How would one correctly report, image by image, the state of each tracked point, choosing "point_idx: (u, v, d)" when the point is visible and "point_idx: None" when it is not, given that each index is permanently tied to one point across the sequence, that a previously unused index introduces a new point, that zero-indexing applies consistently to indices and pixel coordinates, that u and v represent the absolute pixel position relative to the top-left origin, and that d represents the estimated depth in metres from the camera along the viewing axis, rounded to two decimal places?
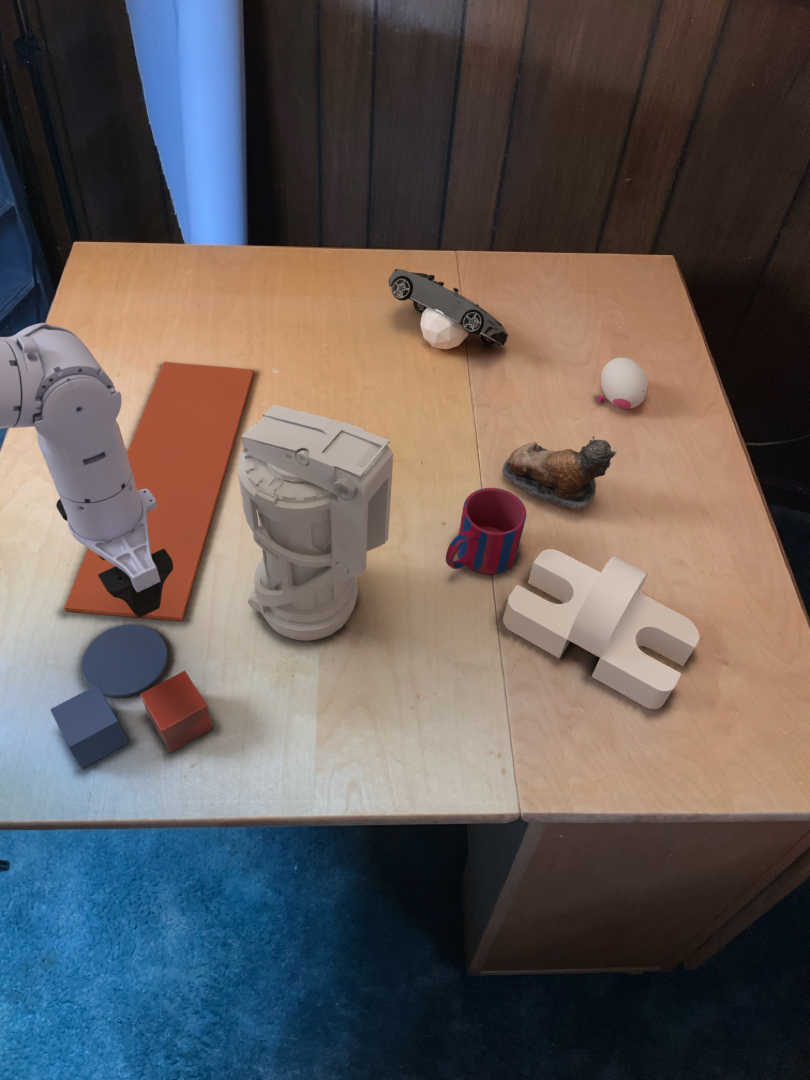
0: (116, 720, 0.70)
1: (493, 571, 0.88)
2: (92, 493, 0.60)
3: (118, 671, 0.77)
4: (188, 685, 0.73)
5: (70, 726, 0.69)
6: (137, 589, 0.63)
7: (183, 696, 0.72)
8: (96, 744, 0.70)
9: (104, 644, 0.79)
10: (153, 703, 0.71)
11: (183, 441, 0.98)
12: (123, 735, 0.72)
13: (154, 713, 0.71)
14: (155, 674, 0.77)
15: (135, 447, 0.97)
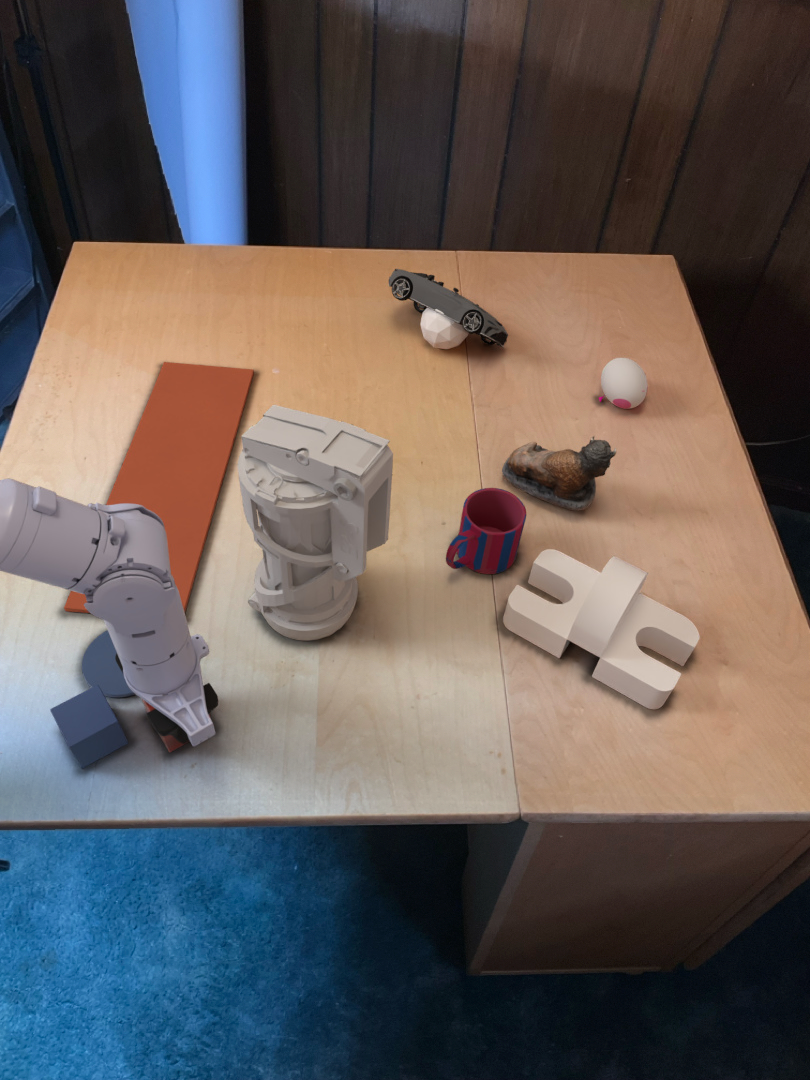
0: (116, 720, 0.70)
1: (493, 571, 0.88)
2: (138, 658, 0.61)
3: (118, 671, 0.77)
4: None
5: (70, 726, 0.69)
6: (193, 744, 0.64)
7: None
8: (96, 744, 0.70)
9: (104, 644, 0.79)
10: None
11: (183, 441, 0.98)
12: (123, 735, 0.72)
13: None
14: None
15: (135, 447, 0.97)
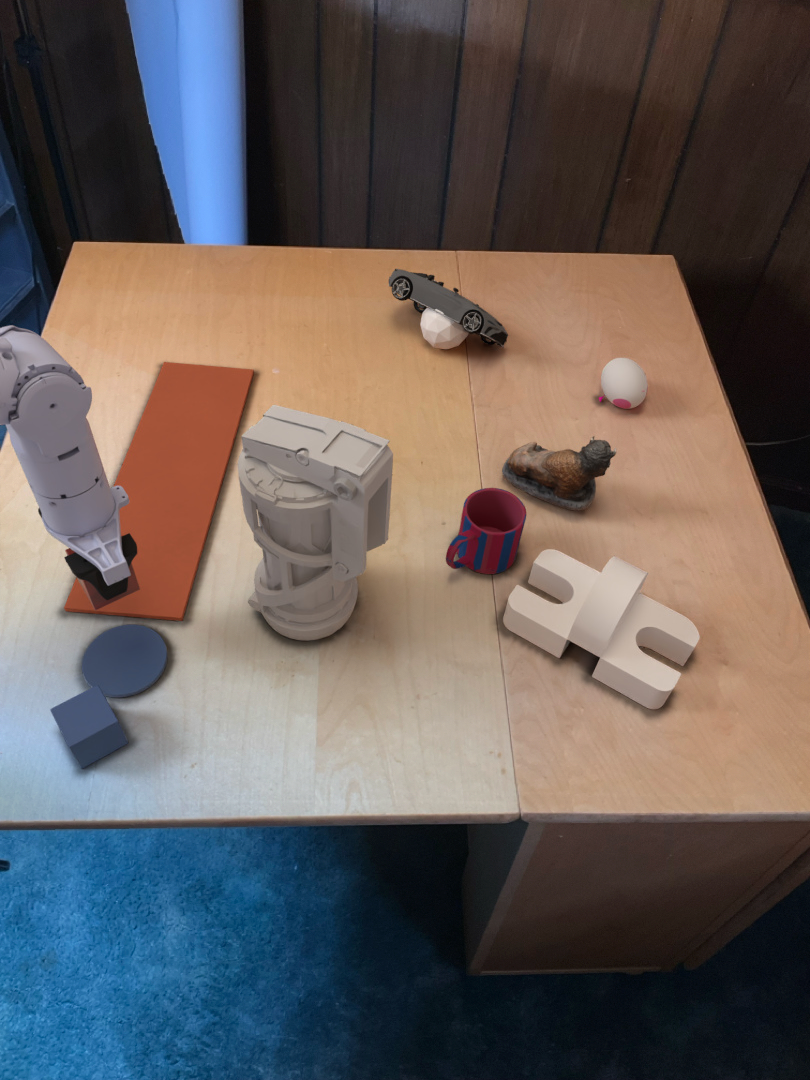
0: (116, 720, 0.70)
1: (493, 571, 0.88)
2: (68, 488, 0.62)
3: (118, 671, 0.77)
4: None
5: (70, 726, 0.69)
6: (108, 583, 0.65)
7: None
8: (96, 744, 0.70)
9: (104, 644, 0.79)
10: None
11: (183, 441, 0.98)
12: (123, 735, 0.72)
13: None
14: (155, 674, 0.77)
15: (135, 447, 0.97)
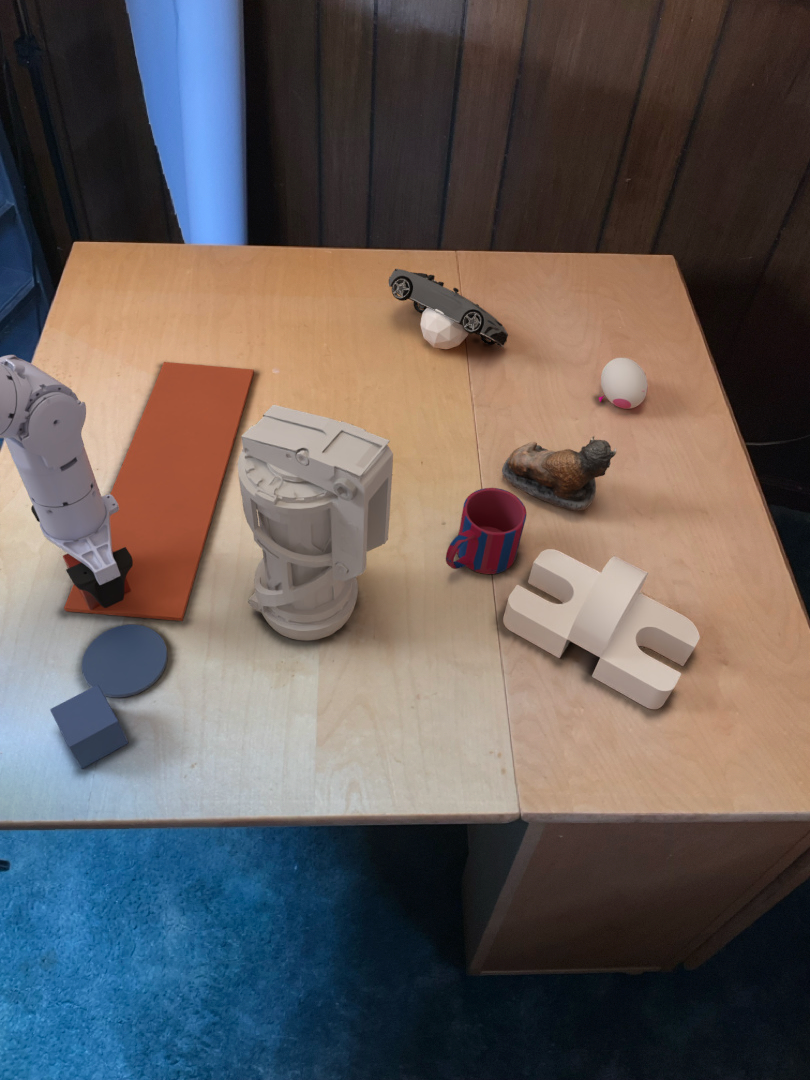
0: (116, 720, 0.70)
1: (493, 571, 0.88)
2: (69, 496, 0.69)
3: (118, 671, 0.77)
4: None
5: (70, 726, 0.69)
6: (99, 582, 0.72)
7: None
8: (96, 744, 0.70)
9: (104, 644, 0.79)
10: (74, 563, 0.80)
11: (183, 441, 0.98)
12: (123, 735, 0.72)
13: None
14: (155, 674, 0.77)
15: (135, 447, 0.97)
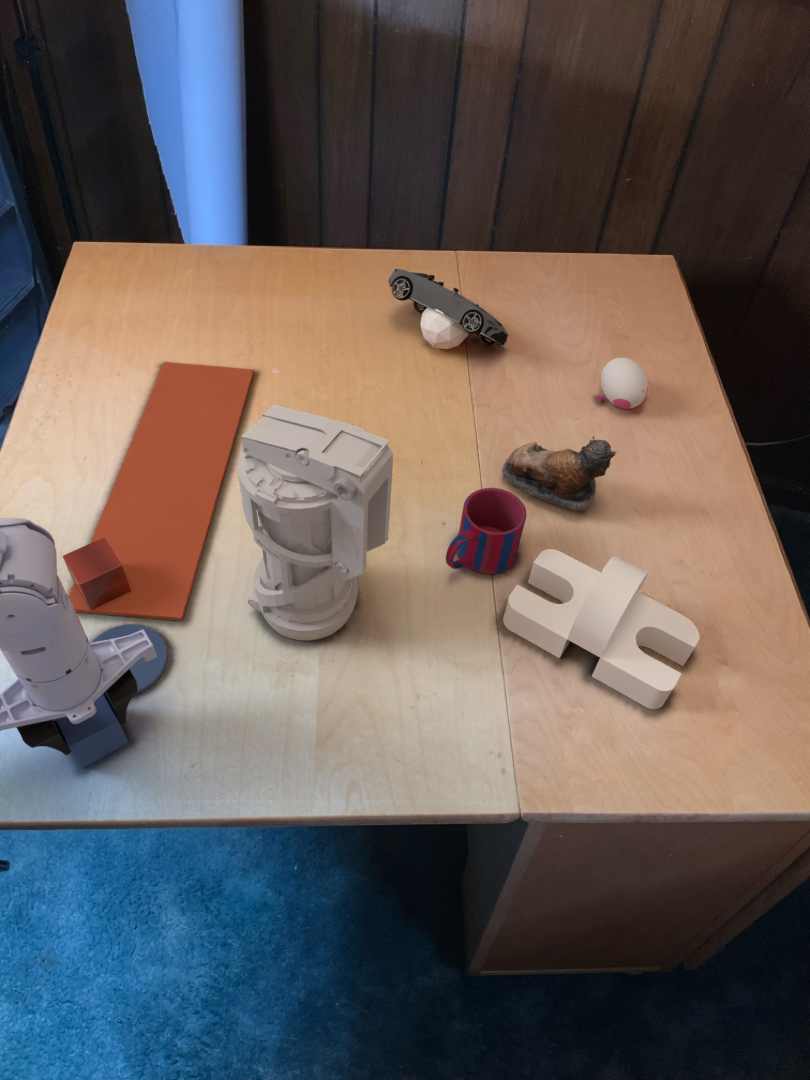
0: (116, 720, 0.70)
1: (493, 571, 0.88)
2: (32, 675, 0.59)
3: None
4: (106, 549, 0.81)
5: (70, 726, 0.69)
6: None
7: (101, 558, 0.80)
8: (97, 744, 0.70)
9: None
10: (74, 563, 0.80)
11: (183, 441, 0.98)
12: (123, 734, 0.72)
13: (74, 571, 0.79)
14: (155, 674, 0.77)
15: (135, 447, 0.97)
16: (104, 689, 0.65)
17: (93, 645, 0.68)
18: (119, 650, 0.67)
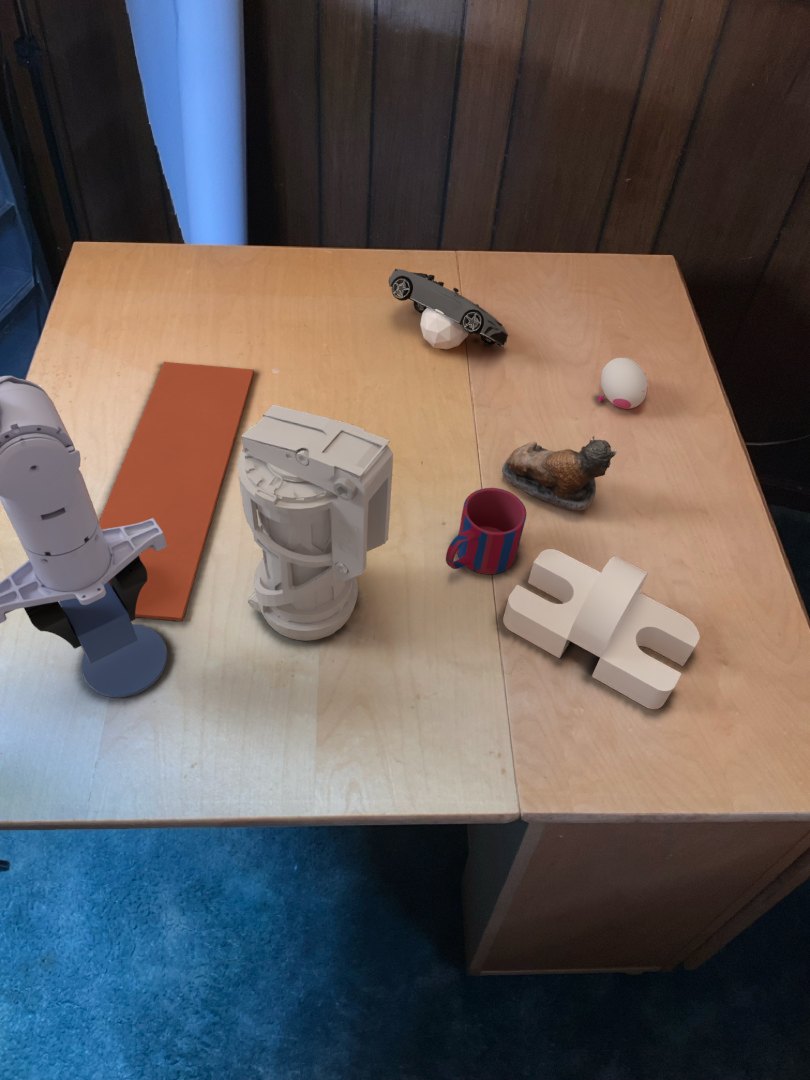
0: (126, 612, 0.69)
1: (493, 571, 0.88)
2: (52, 547, 0.58)
3: (118, 671, 0.77)
4: None
5: (79, 617, 0.68)
6: None
7: None
8: (106, 637, 0.69)
9: None
10: None
11: (183, 441, 0.98)
12: (133, 630, 0.71)
13: None
14: (155, 674, 0.77)
15: (135, 447, 0.97)
16: (114, 573, 0.64)
17: (102, 532, 0.67)
18: (129, 537, 0.66)
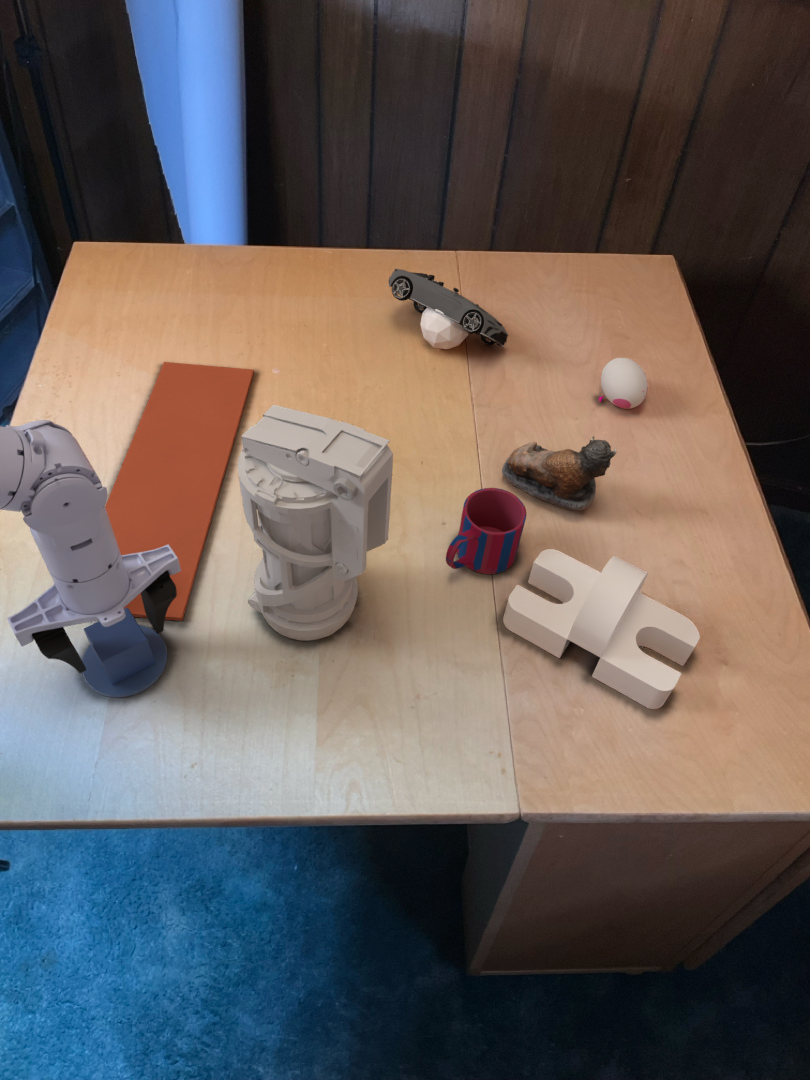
0: (145, 638, 0.75)
1: (493, 571, 0.88)
2: (79, 574, 0.63)
3: None
4: None
5: (103, 643, 0.74)
6: None
7: None
8: (127, 662, 0.75)
9: None
10: None
11: (183, 441, 0.98)
12: (151, 654, 0.77)
13: None
14: (155, 674, 0.77)
15: (135, 447, 0.97)
16: (133, 596, 0.69)
17: (121, 558, 0.72)
18: (146, 562, 0.71)
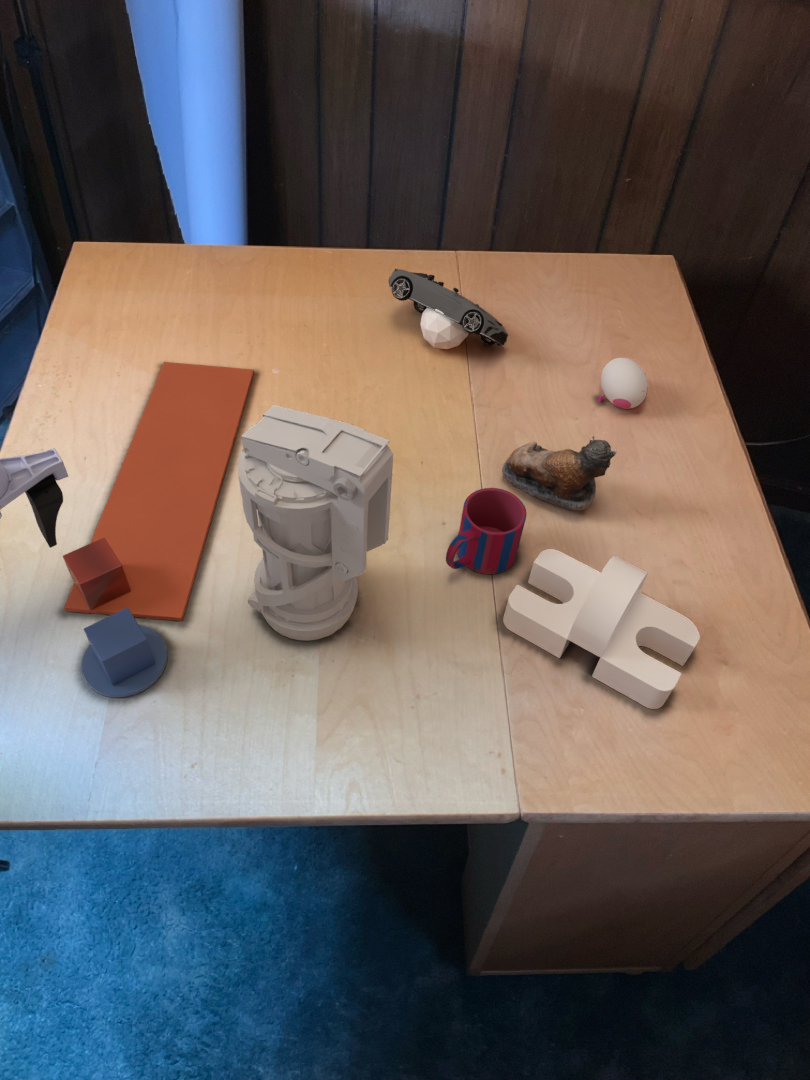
0: (145, 638, 0.75)
1: (493, 571, 0.88)
2: None
3: None
4: (106, 549, 0.81)
5: (103, 643, 0.74)
6: None
7: (101, 558, 0.80)
8: (127, 662, 0.75)
9: None
10: (74, 563, 0.80)
11: (183, 441, 0.98)
12: (151, 654, 0.77)
13: (74, 571, 0.79)
14: (155, 674, 0.77)
15: (135, 447, 0.97)
16: (11, 498, 0.66)
17: (3, 461, 0.68)
18: (28, 465, 0.68)
